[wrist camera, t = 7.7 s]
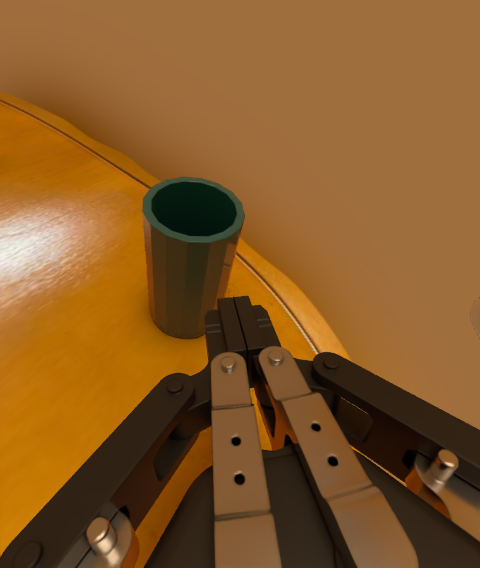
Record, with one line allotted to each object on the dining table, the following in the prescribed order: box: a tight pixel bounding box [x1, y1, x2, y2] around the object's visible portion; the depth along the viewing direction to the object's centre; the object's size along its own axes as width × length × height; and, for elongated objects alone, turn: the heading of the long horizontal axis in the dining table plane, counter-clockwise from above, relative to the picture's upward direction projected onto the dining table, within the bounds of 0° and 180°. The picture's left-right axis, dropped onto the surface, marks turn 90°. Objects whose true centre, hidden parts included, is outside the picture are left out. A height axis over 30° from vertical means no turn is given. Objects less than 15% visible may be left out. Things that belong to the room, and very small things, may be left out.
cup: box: [142, 177, 245, 338], centre depth 23 cm, size 6×6×11 cm
